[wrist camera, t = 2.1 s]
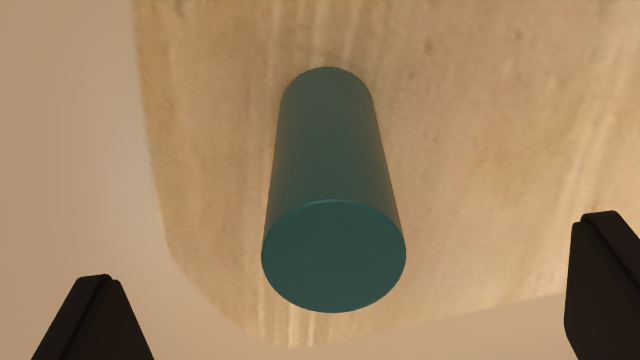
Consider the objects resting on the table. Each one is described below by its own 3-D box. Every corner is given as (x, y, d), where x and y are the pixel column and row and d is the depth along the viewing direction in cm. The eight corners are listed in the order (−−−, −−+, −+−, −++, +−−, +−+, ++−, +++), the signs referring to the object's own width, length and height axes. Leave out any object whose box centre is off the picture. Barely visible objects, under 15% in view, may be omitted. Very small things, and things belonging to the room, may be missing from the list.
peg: (289, 158, 20) (276, 321, 13) (271, 74, 18) (245, 210, 12) (378, 145, 20) (411, 305, 13) (367, 59, 18) (400, 189, 11)
